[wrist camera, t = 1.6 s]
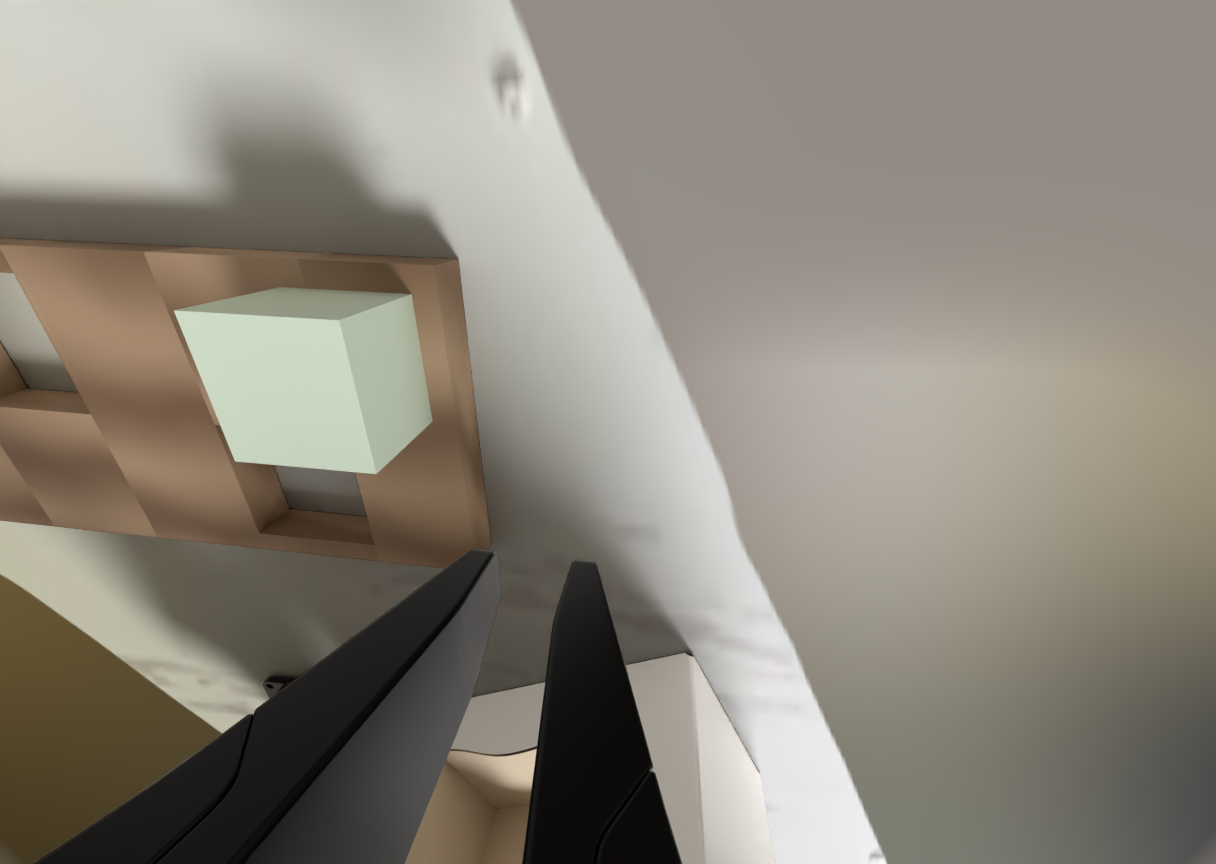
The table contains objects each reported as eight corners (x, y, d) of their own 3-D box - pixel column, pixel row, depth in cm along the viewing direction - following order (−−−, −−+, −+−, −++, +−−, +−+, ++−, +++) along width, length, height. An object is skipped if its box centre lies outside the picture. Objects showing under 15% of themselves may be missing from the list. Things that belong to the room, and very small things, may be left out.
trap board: (490, 543, 24) (467, 590, 21) (-41, 489, 26) (-127, 524, 23) (458, 258, 17) (417, 270, 14) (-240, 227, 20) (-391, 231, 17)
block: (432, 421, 18) (376, 474, 15) (316, 412, 19) (235, 461, 15) (411, 294, 16) (339, 320, 12) (279, 287, 16) (173, 310, 13)
